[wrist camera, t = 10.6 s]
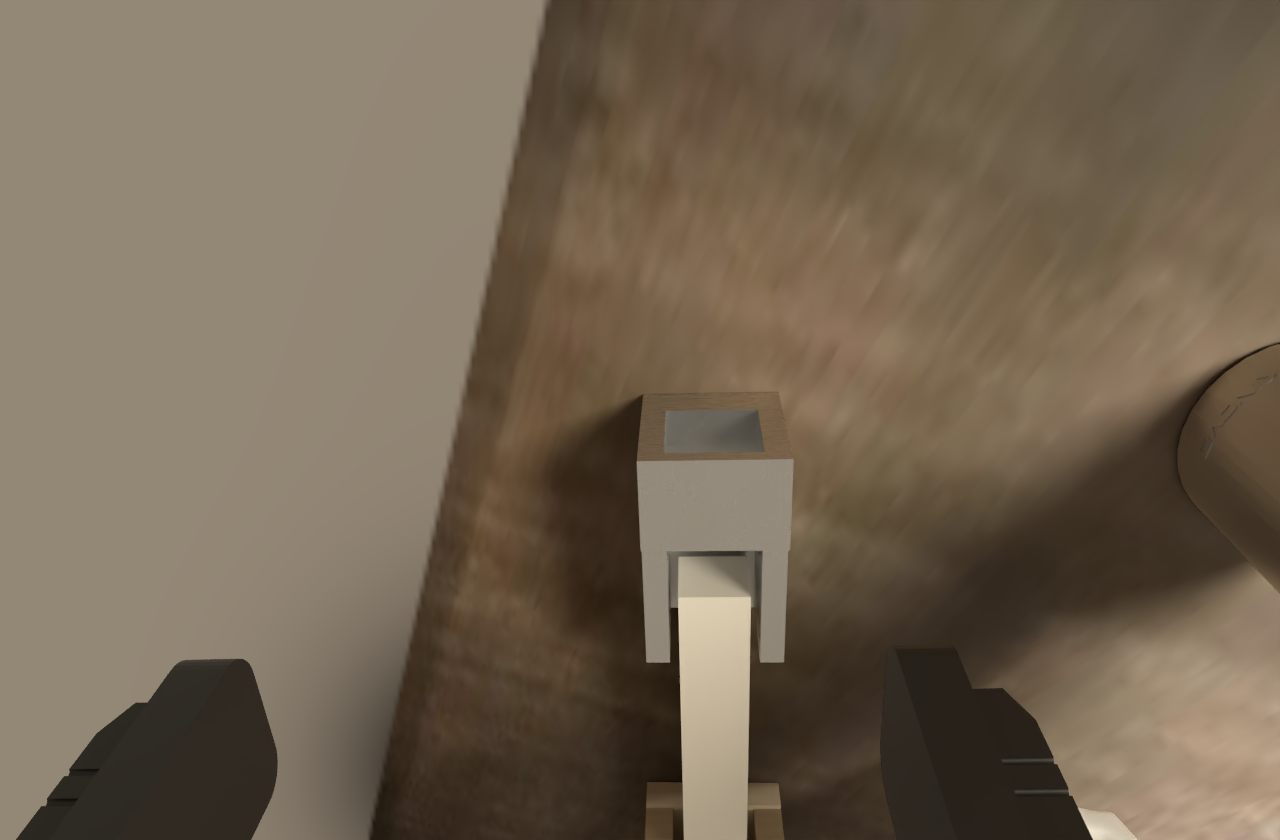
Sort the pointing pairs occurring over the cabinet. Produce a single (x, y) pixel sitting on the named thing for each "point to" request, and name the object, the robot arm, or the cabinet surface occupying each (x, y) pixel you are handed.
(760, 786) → the socket
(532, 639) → the cabinet surface
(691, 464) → the grey slotted channel block
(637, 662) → the cabinet surface
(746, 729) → the cream square bar
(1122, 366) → the cabinet surface
